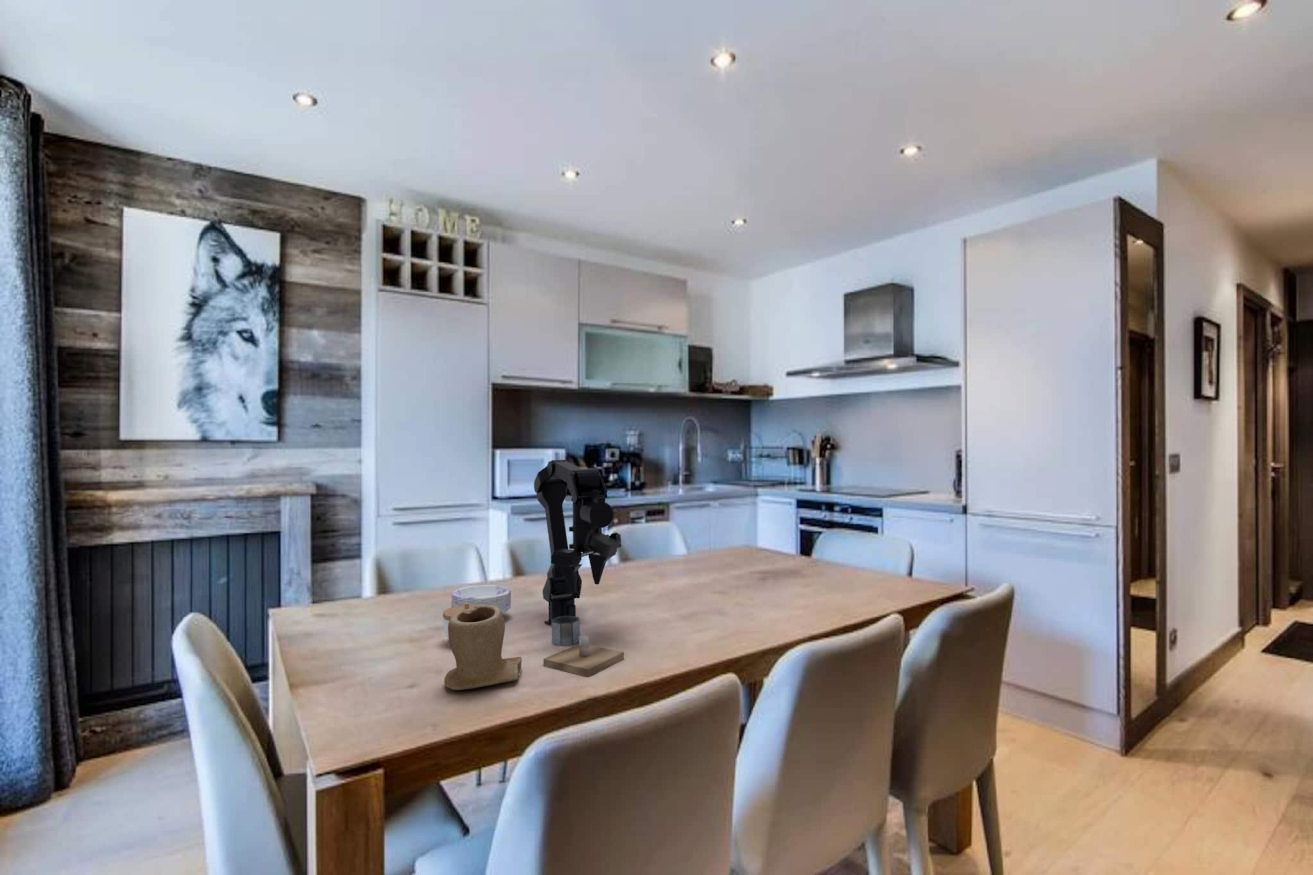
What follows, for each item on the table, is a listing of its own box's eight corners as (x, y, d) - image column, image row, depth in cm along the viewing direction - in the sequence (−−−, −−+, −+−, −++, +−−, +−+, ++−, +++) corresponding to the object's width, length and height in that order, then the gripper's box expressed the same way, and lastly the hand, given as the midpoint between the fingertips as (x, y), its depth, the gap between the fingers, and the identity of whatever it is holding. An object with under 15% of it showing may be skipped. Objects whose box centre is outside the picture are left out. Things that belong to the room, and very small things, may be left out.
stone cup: (445, 701, 114) (444, 619, 114) (443, 678, 125) (442, 603, 125) (529, 689, 119) (528, 610, 119) (521, 668, 130) (520, 596, 130)
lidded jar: (499, 638, 150) (499, 599, 150) (472, 652, 140) (472, 610, 140) (462, 634, 154) (461, 596, 154) (433, 648, 143) (432, 607, 144)
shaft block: (543, 665, 131) (543, 639, 131) (580, 649, 141) (580, 625, 141) (588, 677, 124) (587, 649, 124) (623, 658, 135) (623, 633, 135)
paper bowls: (523, 617, 168) (523, 587, 168) (479, 632, 155) (479, 600, 155) (483, 609, 176) (483, 581, 176) (439, 623, 164) (438, 592, 164)
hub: (546, 642, 146) (546, 621, 146) (564, 635, 152) (564, 614, 152) (567, 647, 143) (566, 625, 143) (585, 639, 148) (584, 618, 148)
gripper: (588, 530, 135) (589, 602, 135) (635, 519, 151) (635, 584, 152) (548, 526, 141) (549, 595, 141) (597, 516, 157) (598, 578, 157)
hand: (585, 588), depth 148 cm, fingers open, 9 cm apart
